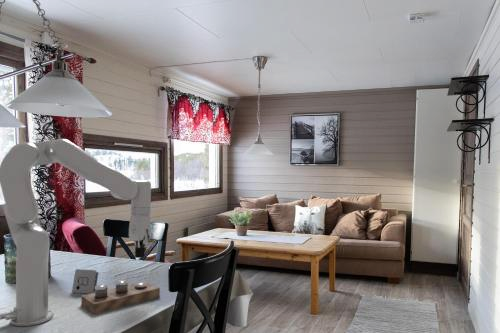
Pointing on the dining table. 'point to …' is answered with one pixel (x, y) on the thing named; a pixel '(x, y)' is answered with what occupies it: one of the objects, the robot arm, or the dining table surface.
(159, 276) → the dining table surface
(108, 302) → the knob mount
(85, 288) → the electrical switch
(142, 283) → the knob far
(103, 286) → the knob near
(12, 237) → the robot arm
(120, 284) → the knob mid
